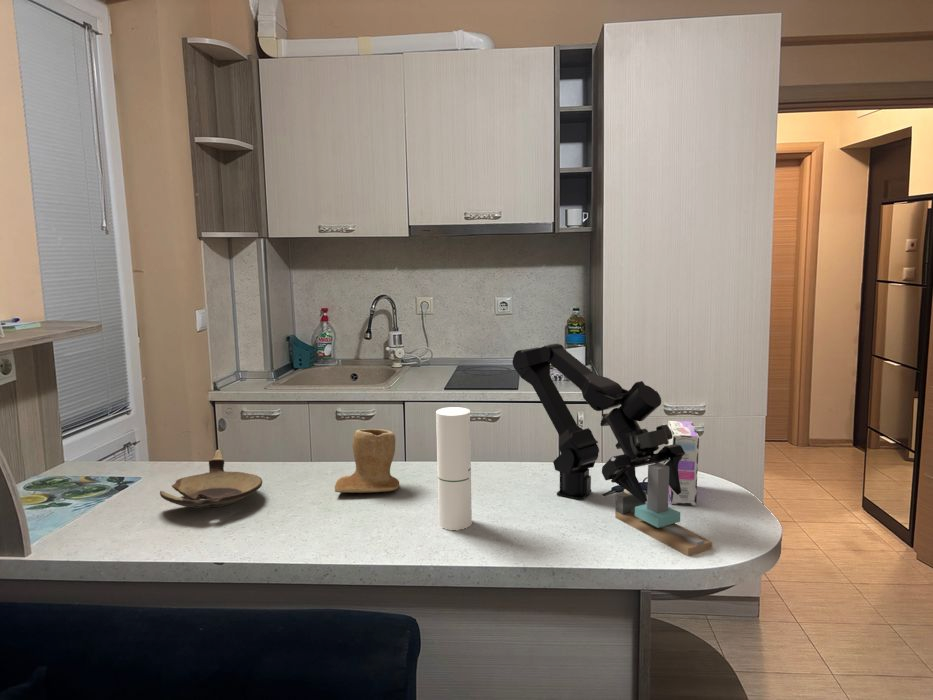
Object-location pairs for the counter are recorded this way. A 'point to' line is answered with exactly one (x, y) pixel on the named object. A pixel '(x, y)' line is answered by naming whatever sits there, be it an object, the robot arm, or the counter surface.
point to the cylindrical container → (454, 467)
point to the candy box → (685, 461)
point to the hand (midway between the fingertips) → (662, 497)
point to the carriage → (657, 498)
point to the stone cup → (370, 463)
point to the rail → (667, 534)
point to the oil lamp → (214, 486)
